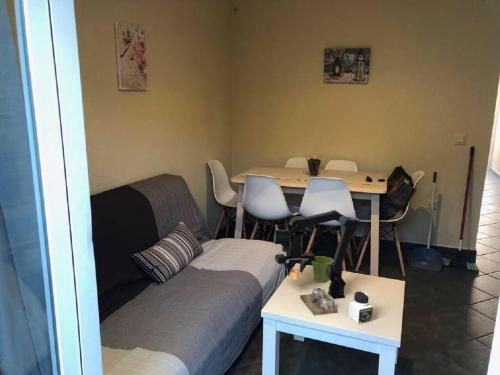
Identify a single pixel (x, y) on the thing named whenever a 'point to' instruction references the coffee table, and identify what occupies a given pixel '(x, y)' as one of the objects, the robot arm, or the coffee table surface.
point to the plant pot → (321, 268)
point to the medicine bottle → (360, 308)
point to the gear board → (319, 302)
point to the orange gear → (294, 274)
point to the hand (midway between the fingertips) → (294, 274)
